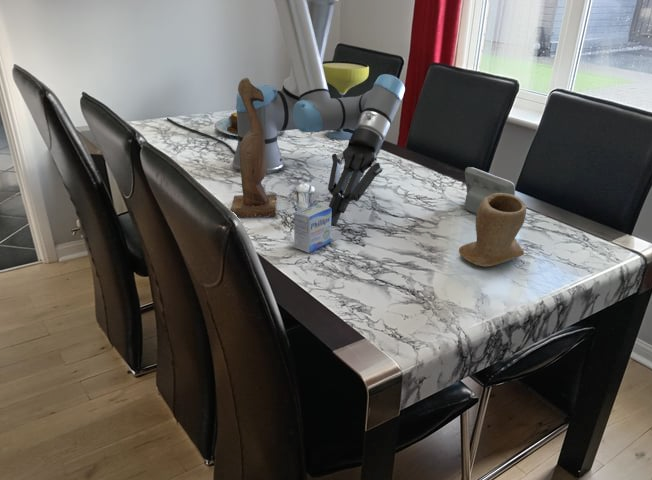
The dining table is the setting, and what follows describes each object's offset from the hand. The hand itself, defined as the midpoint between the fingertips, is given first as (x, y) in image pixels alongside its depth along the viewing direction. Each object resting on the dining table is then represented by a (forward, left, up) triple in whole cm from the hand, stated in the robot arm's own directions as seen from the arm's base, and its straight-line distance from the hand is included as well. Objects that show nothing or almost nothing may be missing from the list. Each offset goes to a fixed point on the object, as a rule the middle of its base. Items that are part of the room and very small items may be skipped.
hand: (330, 223), depth 132 cm
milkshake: (-12, +3, -4) cm, 13 cm away
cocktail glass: (-67, +64, -4) cm, 93 cm away
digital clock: (+12, +46, -4) cm, 47 cm away
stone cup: (+30, +23, -4) cm, 38 cm away
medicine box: (0, -5, -4) cm, 7 cm away
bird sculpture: (-25, -3, -4) cm, 26 cm away
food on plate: (-89, +40, -4) cm, 98 cm away
